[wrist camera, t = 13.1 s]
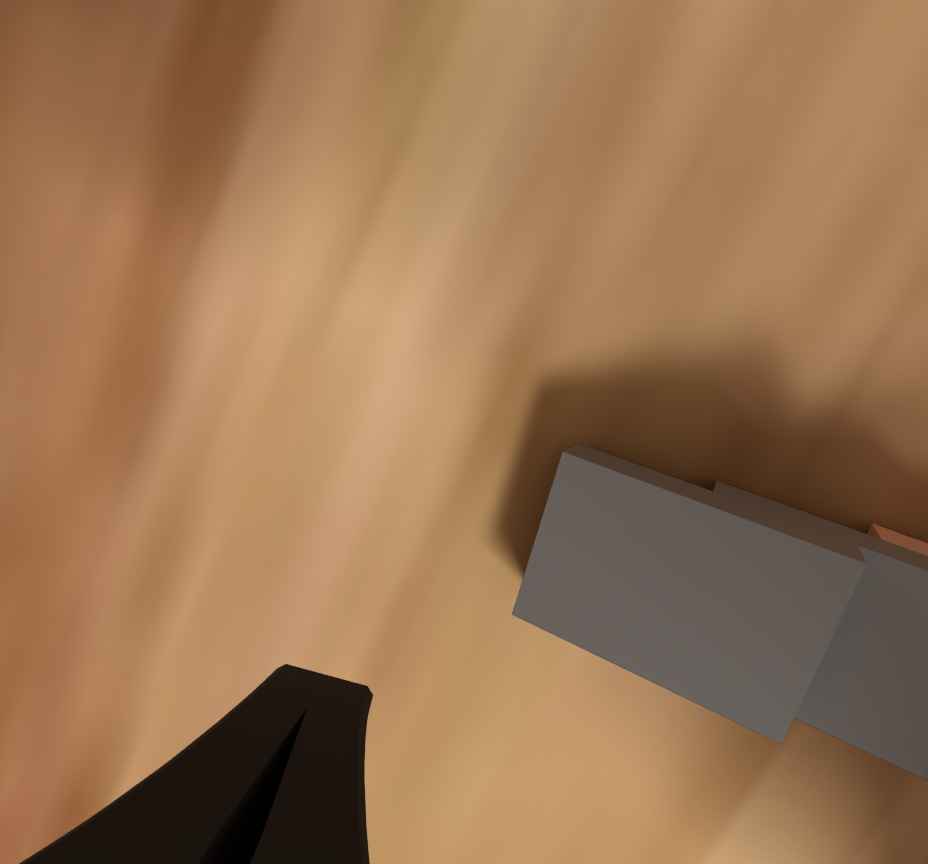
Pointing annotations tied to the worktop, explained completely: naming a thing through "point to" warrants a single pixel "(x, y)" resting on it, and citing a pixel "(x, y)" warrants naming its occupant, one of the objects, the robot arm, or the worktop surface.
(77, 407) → the worktop surface
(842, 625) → the charcoal tile
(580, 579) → the charcoal tile
